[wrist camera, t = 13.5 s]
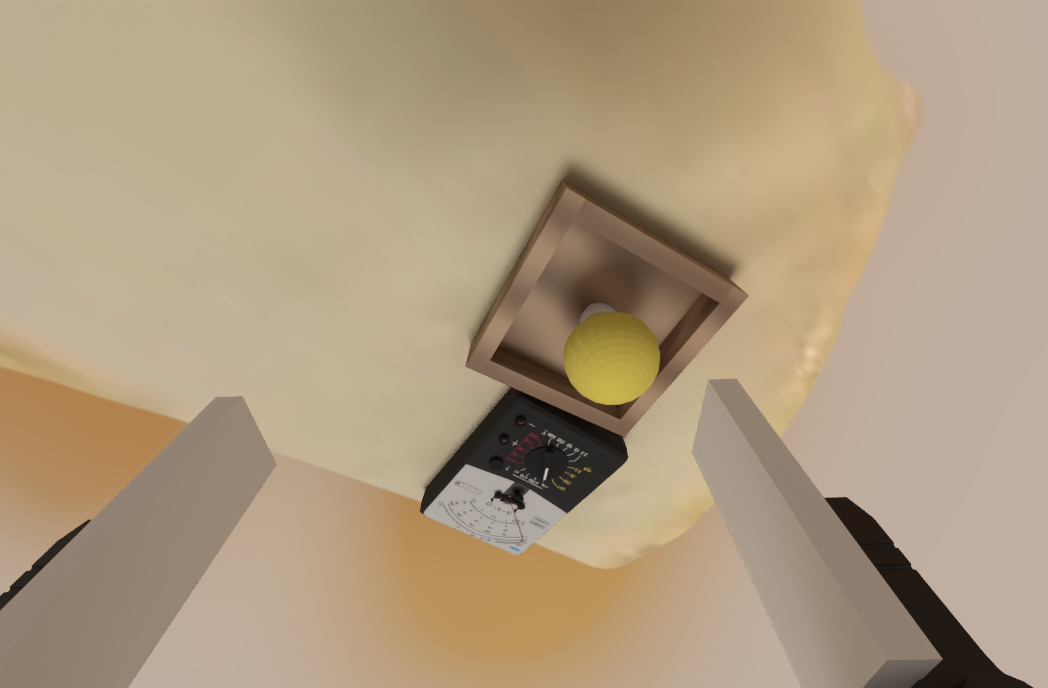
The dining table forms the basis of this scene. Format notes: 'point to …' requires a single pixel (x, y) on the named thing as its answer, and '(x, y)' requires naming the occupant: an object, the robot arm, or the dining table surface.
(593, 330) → the light bulb
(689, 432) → the dining table surface
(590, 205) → the tray
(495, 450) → the multimeter
